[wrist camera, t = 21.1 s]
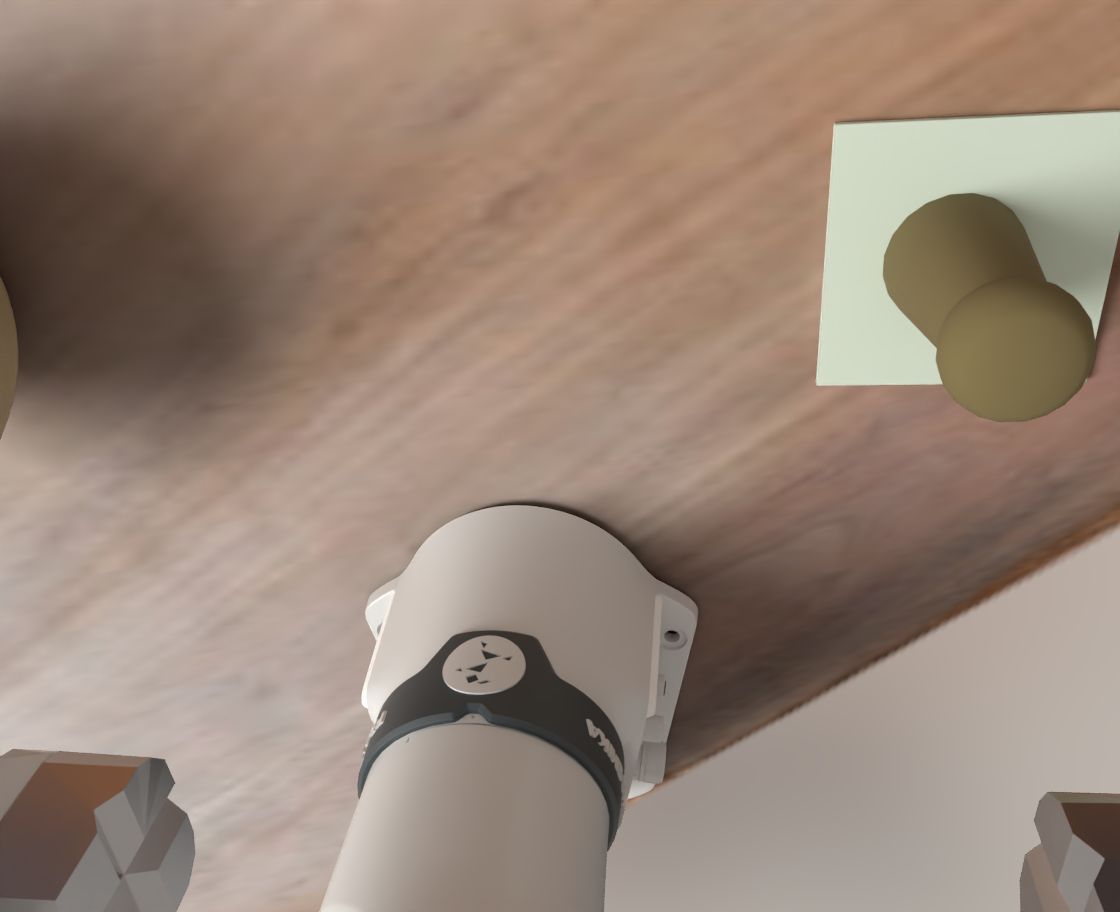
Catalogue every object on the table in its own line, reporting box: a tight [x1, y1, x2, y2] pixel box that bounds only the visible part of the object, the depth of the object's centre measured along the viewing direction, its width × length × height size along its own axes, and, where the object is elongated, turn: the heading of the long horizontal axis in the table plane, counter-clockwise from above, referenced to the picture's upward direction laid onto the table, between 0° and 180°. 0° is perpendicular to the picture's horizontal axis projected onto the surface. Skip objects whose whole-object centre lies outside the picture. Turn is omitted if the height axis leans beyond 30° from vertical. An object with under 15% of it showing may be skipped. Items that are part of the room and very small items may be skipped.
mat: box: [816, 110, 1120, 386], centre depth 43 cm, size 12×12×1 cm
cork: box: [883, 193, 1097, 422], centre depth 38 cm, size 6×6×11 cm
